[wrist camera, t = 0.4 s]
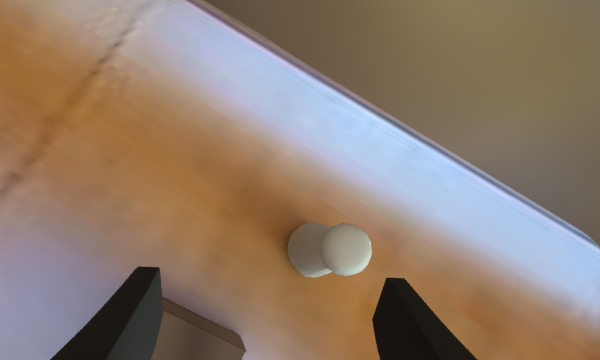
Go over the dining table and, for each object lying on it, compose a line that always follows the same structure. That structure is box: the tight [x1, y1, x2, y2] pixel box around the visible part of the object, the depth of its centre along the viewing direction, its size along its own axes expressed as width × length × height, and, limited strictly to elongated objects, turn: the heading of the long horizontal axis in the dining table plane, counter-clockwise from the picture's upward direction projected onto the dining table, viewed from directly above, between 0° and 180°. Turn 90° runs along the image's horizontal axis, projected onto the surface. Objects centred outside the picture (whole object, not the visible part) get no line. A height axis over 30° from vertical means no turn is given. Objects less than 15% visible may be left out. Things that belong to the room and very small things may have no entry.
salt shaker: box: [287, 222, 372, 277], centre depth 35 cm, size 6×6×13 cm
